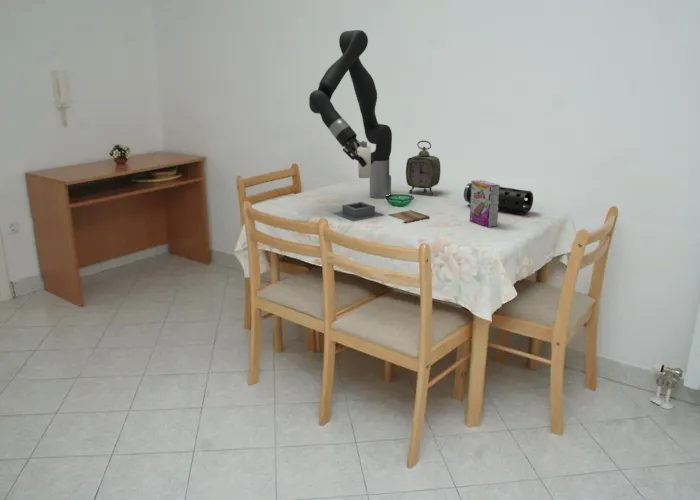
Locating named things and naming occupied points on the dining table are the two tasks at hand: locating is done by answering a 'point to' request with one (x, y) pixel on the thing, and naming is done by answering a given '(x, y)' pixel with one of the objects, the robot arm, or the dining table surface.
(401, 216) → the walnut board
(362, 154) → the bottle
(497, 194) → the candy bar box
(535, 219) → the dining table surface
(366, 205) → the socket block
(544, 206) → the dining table surface
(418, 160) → the tabletop clock
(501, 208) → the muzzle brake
